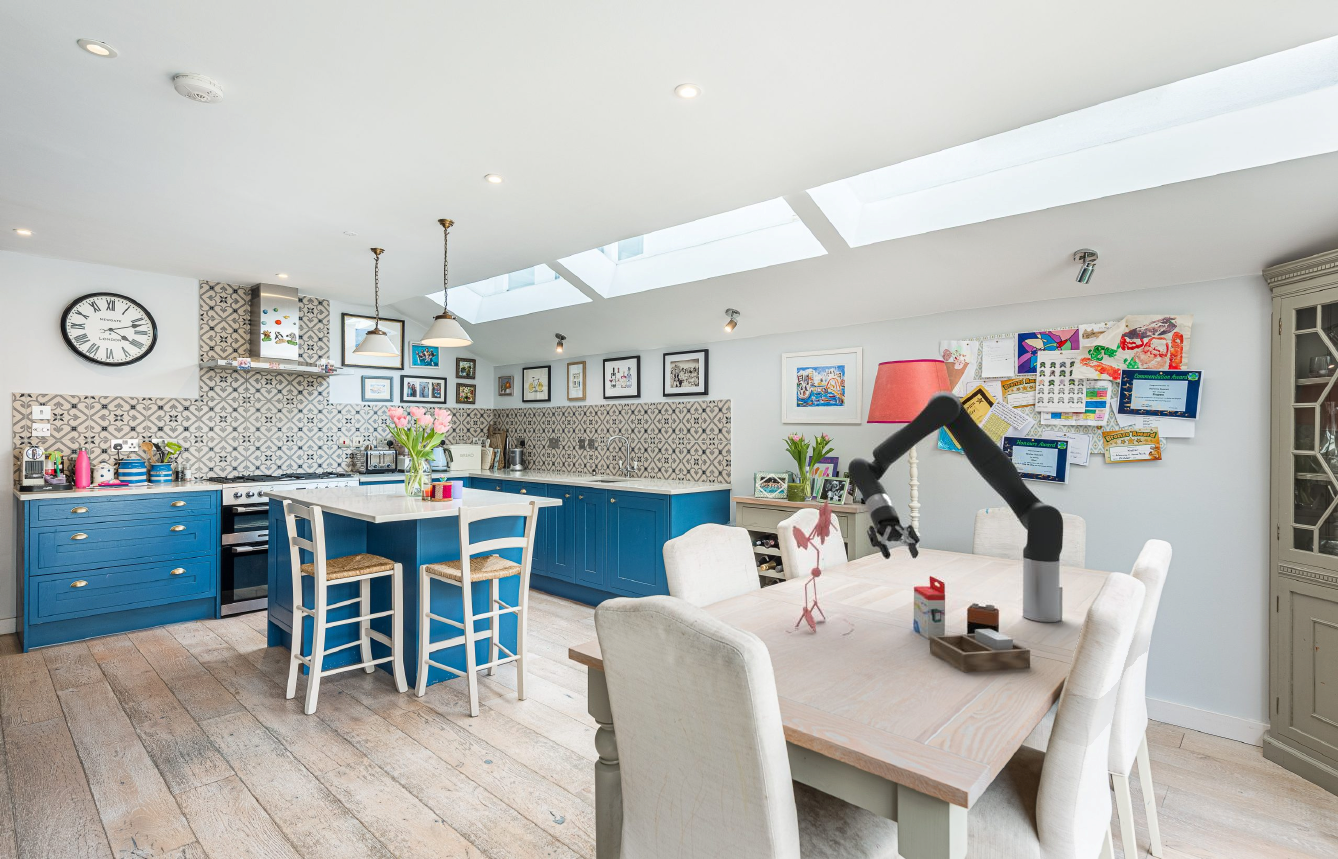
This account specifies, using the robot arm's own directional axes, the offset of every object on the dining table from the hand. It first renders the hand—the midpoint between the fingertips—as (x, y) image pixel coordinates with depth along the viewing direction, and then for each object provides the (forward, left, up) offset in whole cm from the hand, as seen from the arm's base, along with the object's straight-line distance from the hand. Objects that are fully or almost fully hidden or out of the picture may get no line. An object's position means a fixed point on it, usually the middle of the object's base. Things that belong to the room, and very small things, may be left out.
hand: (902, 557), depth 186 cm
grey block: (-4, +33, -18) cm, 38 cm away
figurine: (+25, +3, -18) cm, 31 cm away
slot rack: (0, +33, -18) cm, 38 cm away
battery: (-9, +23, -18) cm, 31 cm away
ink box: (0, +13, -18) cm, 23 cm away
